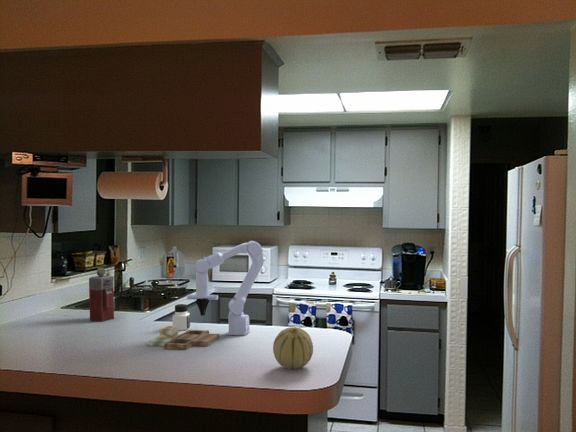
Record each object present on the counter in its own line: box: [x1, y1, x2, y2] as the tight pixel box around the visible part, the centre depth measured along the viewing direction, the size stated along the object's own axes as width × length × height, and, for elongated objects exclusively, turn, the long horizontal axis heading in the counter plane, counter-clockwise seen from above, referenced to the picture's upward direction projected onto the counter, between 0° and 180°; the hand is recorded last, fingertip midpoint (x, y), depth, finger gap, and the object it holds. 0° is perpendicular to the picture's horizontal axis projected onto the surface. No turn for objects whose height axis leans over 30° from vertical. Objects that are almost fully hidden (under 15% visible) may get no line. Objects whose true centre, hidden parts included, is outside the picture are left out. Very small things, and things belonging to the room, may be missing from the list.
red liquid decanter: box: [88, 267, 115, 323], centre depth 281 cm, size 9×11×28 cm
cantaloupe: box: [272, 326, 314, 370], centre depth 187 cm, size 15×15×15 cm
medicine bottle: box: [172, 303, 191, 331], centre depth 254 cm, size 7×7×12 cm
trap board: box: [148, 329, 220, 350], centre depth 229 cm, size 26×26×2 cm
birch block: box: [159, 325, 179, 338], centre depth 231 cm, size 6×6×4 cm
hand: (203, 315), depth 239 cm, fingers closed
